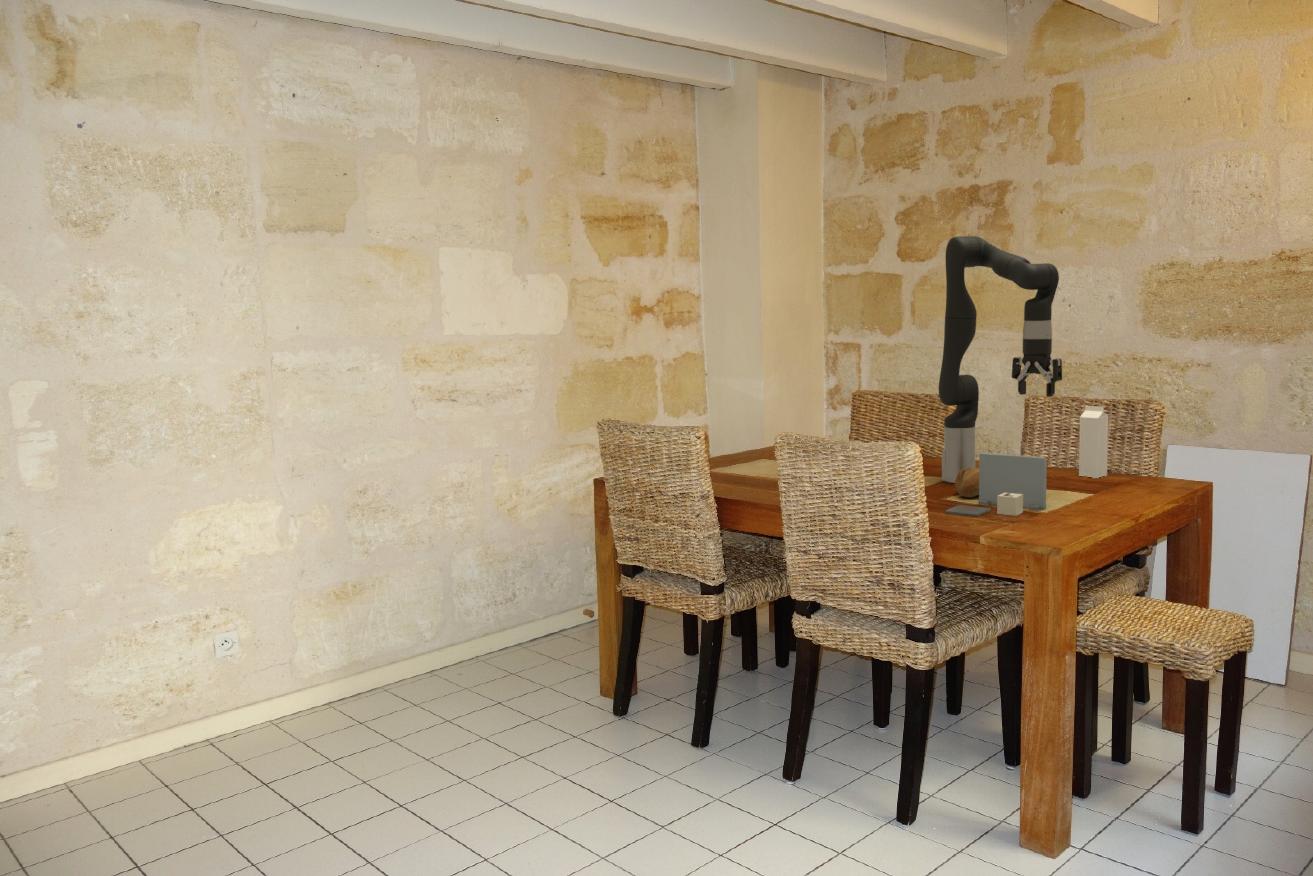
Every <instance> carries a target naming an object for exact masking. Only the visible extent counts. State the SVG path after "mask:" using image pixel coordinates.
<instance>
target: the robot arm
mask: <svg viewBox="0 0 1313 876" xmlns="http://www.w3.org/2000/svg"><path fill="white" fill-rule="evenodd" d="M944 258H945V278H946V279H945V281H946V295H945V296H946V298H945V300H946V301H945V314H944V332H943V333H944V335H943V336H944V337H943V339H944V340H943V351H942V359H941V367H940V374H939V380H938V396H939V397H938V398H939V401H941V404H943V405H944V406H947V407H948V406H949V407H951V406H956V407H955V410H954V411H953V412H952V413H950V414H949V415H947V416H946V417H944V422H943V423H944V425H943V426H944V432H943V433H944V438H943V439H944V445H943V446H944V448H943V449H944V450H942V451H941V481H942V482H946V483H953V484H955V479H956V476H957V474H958V473H959V471H961V470H962V469H964V468H976V421H977V419H978V414H979V413H978V412H979V400H980V399H979V398H980V397H979V396H980V393H979V392H980V391H979V383H978V381H977V379H976V377H974V376H973V375H972V374H960V372H961V371H960V370H961V365H962V360H963V358H964V356H965V354H966V352H967V350H968V349H969V347H970V346H971V343H972V342H973V340H974V337H975V334H976V330H977V317H978V316H977V315H978V314H977V309H976V305H975V303H974V301H973V299H972V297H971V295H970V294H969V291H968V289H967V286H966V282H965V281H966V279H965V268H976V267H985V268H990V269H991V270H992V271H993V272H994V273H995V274H996V275H997V276H999V277H1001V278H1003V279H1006V280H1008V281H1011V282H1013V283H1014V284H1015V285H1016V286H1018V287H1019V288H1021V289H1024V290H1027V291H1028V290H1029V291H1035V290H1036V294H1035V296H1034V297H1033V298H1029V299H1028V300H1026V301H1025V302H1024V307H1023V308H1024V313H1023V316H1024V317H1023V327H1022V355H1023V357H1021V356H1017V357H1013V358H1012V366H1011V378H1012V379H1015V380H1016V381H1017V392H1018V394H1019V395H1026V394H1027V379H1028V377H1029V376H1030V375H1032V374H1036V375H1041V376H1042V377H1043V378H1044V379H1045V380H1046V382H1047V383H1046V392H1045V393H1046V394H1045V395H1046V398H1047V397H1048V398H1051V397H1053V396H1054V395H1055V392H1056V383H1057V382H1060V381H1063V361H1062V358H1053V359H1052V357H1051V354H1052V351H1053V350H1052V349H1053V348H1052V347H1053V345H1052V344H1053V324H1052V312H1053V311H1052V310H1053V309H1052V308H1053V307H1052V306H1053V302H1054V299H1055V295H1056V292H1057V289H1058V285H1059V281H1060V278H1059V277H1060V275H1059V274H1060V273H1059V271H1058V268H1057V267H1056V266H1055V264H1053V263H1048V262H1047V263H1044V262H1043V263H1031V262H1030V261H1029V260H1028V259H1027V258H1025V257H1022V256H1020V255H1016V254H1013V253H1010V252H1007V251H1004V250H1002V249H1000V248H998V247H997V246H995V245H993V244H992V243H990V242H988V241H987V240H985V239H983V238H982V237H979V236H976V235H968V236H967V235H965V236H963V235H962V236H961V235H960V236H954V237H951V238H950V239H949V240H948V242H947V244H946V247H945V257H944ZM1022 365H1023V368H1022ZM1050 366H1051V367H1050ZM1051 368H1052V369H1051Z"/></svg>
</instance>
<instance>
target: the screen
mask: <svg viewBox="0 0 1313 876" xmlns="http://www.w3.org/2000/svg"><path fill="white" fill-rule="evenodd" d="M978 454H979V455H978V459H979V460H978V463H979V464H978V466H979V467H978V468H979V495H978V506H979V505H981V506H989V505H996V506H997V496H998V495H1000V494H1003V493H1015V494H1023V509H1024V508H1025V509H1027V508H1028V510H1029V511H1036V512H1038V511H1041V510H1047V461H1048V460H1047V458H1048V457H1045V456H1031V455H1020V454H1019V455H1016V454H1006V453H1005V454H1004V453H1003V454H1002V453H988V452H980V453H978Z"/></svg>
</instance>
